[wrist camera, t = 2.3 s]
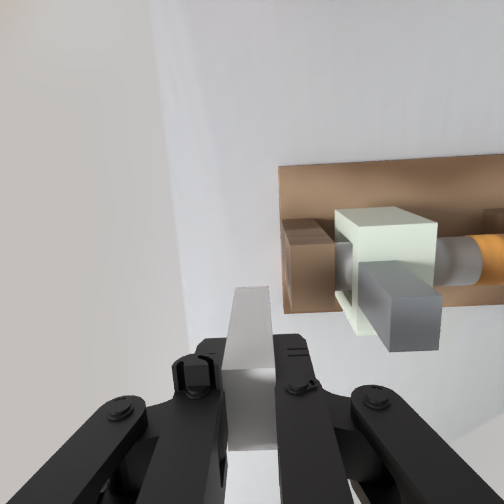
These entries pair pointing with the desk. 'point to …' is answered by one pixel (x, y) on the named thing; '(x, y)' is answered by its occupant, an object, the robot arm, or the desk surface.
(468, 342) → the desk surface
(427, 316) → the collar
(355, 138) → the desk surface
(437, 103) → the desk surface
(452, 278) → the pipe rig
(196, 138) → the desk surface
